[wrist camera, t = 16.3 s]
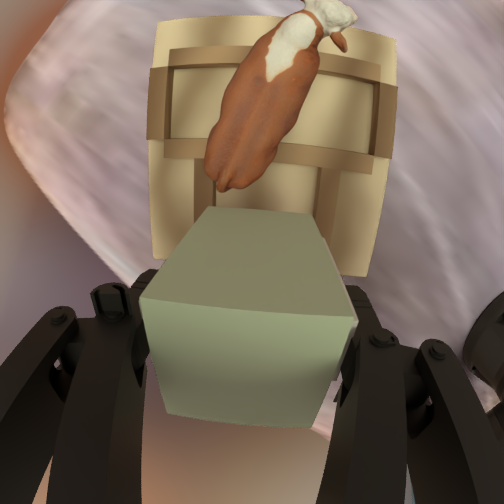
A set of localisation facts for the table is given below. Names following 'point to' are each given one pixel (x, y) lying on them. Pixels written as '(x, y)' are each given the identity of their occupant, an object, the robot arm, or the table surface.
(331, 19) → the bull figurine
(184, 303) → the sage-green tail block
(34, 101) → the table surface
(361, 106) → the beech board
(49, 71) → the table surface
